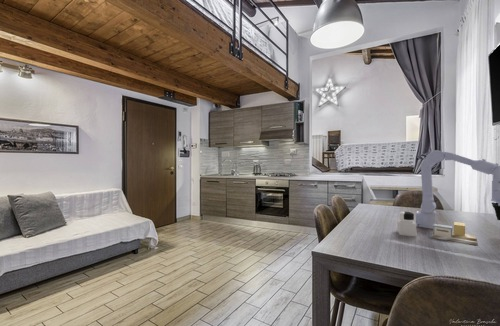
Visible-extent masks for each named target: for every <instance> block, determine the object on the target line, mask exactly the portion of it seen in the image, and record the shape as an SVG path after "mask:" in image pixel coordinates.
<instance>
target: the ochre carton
mask: <svg viewBox="0 0 500 326" xmlns="http://www.w3.org/2000/svg"><path fill="white" fill-rule="evenodd" d="M453 232H454V235H458V236H464V237H465V234H466V223H465V222H459V221H458V222H456V221H454V223H453Z"/></svg>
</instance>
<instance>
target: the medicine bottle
mask: <svg viewBox="0 0 500 326" xmlns="http://www.w3.org/2000/svg"><path fill="white" fill-rule="evenodd" d="M414 216H415V214H414V213H413V212H410V211H400V212H399V219H397V222H396V223H397V227H396V229H397V230H396V231H397V233H398V235H399V236H407V237H417V226H416V221H415V217H414Z"/></svg>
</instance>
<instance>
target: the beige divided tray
mask: <svg viewBox="0 0 500 326" xmlns="http://www.w3.org/2000/svg"><path fill="white" fill-rule="evenodd" d="M431 238H433V239H438V240H444V241H449V242H456V243H460V244H466V245H473V246H478V244H479V243H478V238H477V236H476V235H474V234H468V233H465V237H464V236H458V235H454V231H452V238H450V237H444V236H438V235H433V234H431Z"/></svg>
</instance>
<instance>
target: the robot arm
mask: <svg viewBox="0 0 500 326" xmlns="http://www.w3.org/2000/svg"><path fill="white" fill-rule="evenodd" d="M442 161H453V162H457V163H461V164H463V165H467V166H470V167H471V169H472V170H475V171H477V172H479V173H483V174H487V175H492V181H491V200H490V201H491V206H492V207H493V209H494V213H495V217H496V218H497V221H500V165H499V163H498V162H497V163H496V162H495V163H493V162H490V161H487V159H484V158H481V159H480V158H478V159H477V158H476V159H471V158H468V157H465V156H463V155H459V154H457V153H453V152H448V151H442V150H437V149H435V150H432V151H431V152H429V153H428V154H426V156H425V158H424V159H423V161H422V162H421V163H420V175H421V190H422V199H421V201H422V202H421V205H420V209H421V210H420V211H416V213H415V223H416V227H420V228H425V229H430V230H431V229H432V230H433V225H434V224H437V222H438V221H437V219H438V217H437V216H438V214H437V211H435V210H436V209H437V203H436V202H435V199H434V189H433V177H432V167H434V166H435V165H436V164H438V163H440V162H442Z"/></svg>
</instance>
